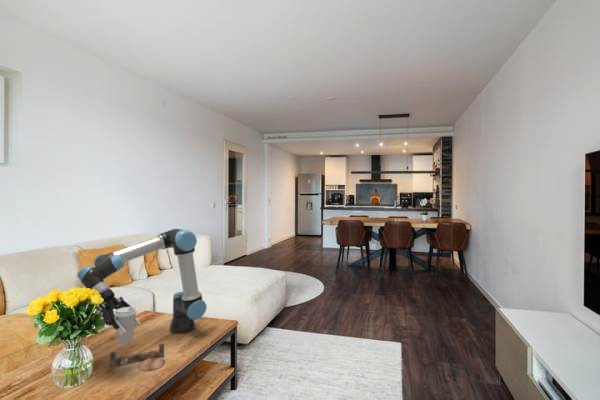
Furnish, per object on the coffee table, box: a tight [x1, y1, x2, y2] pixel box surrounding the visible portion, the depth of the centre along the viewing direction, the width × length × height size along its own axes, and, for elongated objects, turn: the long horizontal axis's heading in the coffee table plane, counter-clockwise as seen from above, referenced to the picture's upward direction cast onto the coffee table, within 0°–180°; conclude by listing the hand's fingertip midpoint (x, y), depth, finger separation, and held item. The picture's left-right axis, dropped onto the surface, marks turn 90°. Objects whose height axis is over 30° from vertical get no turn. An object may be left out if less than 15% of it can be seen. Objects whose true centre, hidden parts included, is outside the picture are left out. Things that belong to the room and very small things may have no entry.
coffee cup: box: [114, 306, 138, 345], centre depth 154 cm, size 10×10×15 cm
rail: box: [109, 343, 166, 372], centre depth 158 cm, size 24×15×6 cm, turn 118°
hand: (131, 329), depth 153 cm, fingers closed on coffee cup, 9 cm apart
